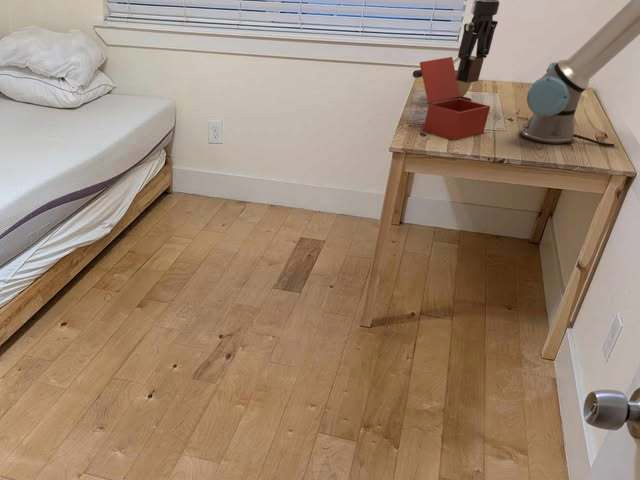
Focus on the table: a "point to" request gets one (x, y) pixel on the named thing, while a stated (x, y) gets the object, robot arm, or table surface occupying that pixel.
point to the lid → (438, 79)
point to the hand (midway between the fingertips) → (467, 79)
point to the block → (472, 69)
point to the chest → (456, 118)
